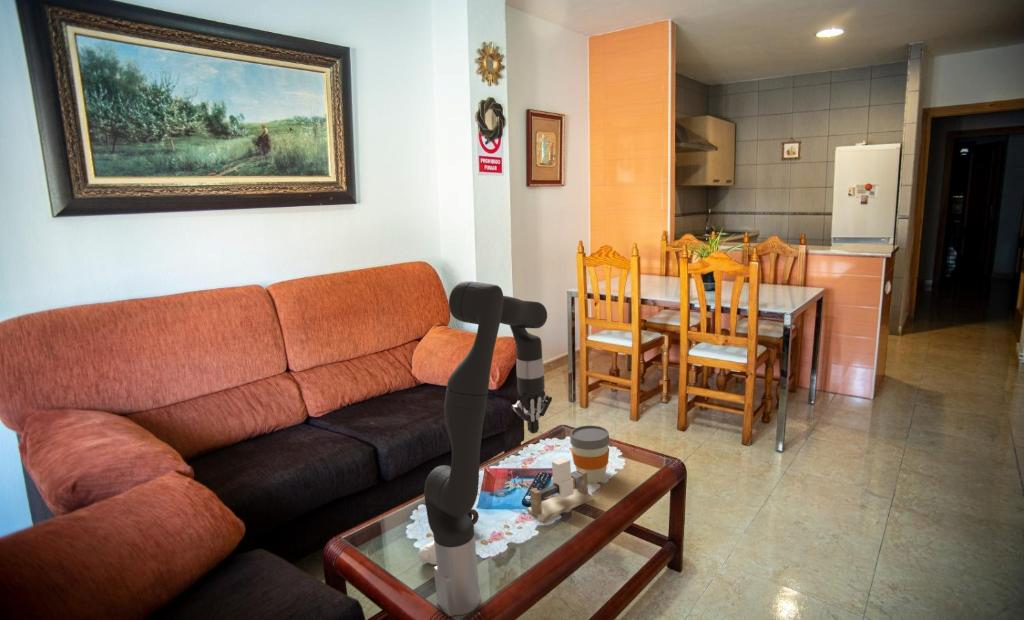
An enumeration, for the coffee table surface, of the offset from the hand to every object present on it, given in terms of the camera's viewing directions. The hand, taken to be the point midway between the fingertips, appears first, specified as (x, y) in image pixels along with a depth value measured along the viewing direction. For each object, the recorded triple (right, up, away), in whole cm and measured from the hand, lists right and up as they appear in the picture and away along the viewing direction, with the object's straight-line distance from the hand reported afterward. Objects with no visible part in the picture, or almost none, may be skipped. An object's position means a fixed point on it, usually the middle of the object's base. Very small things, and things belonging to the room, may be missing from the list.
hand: (533, 432), depth 169 cm
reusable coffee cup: (+20, -20, +26) cm, 38 cm away
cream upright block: (+9, -20, +9) cm, 24 cm away
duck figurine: (-24, -31, -13) cm, 41 cm away
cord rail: (+8, -24, +10) cm, 27 cm away
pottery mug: (-21, -28, +2) cm, 34 cm away
